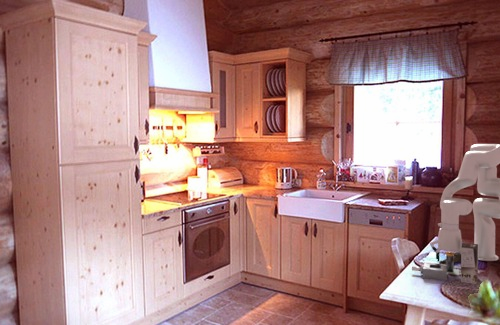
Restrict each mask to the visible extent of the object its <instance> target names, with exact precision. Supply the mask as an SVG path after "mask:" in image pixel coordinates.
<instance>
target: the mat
mask: <svg viewBox="0 0 500 325" xmlns="http://www.w3.org/2000/svg"><path fill="white" fill-rule="evenodd" d="M447 275H458V276H459V275H460V269H456V268H454V272H447Z"/></svg>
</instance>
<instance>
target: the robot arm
mask: <svg viewBox="0 0 500 325" xmlns="http://www.w3.org/2000/svg"><path fill="white" fill-rule="evenodd" d="M499 164H500V143H476V144H473V145H471V146H470V147H469V151H467V152H466V153H465V154H464V156H463V158H462V162H461V166H460V169H459V172H458V176H457V177H456V178H455V179H454V180H452V181H451V182H450V183H449V184H448V185H447V186H445V188H444V190H443V191H442V195H441V198H440V202H439V207H440V211H441V214H440V215H441V217H440V218H441V219H440V220H441V222H440V223H437V226H438V227H440V228H439V230H438V236H437V240H436V239H435V240H433V241H432V242H429V245H430V247H431V249H432V251H434V252H435V259H436V260H437V262H440V253H441V252H440V251H443V252H444V251H446V252H453V253H456V252H459V253H460V260H459V264H460V265H461V246H462V244H463V243H464V242H463V241H462V230H461V229H460V228H459V225H460V219H459V218H460V216H467V215H469V214H470V213H471V212H472V211H473V217H474V229H473V230H474V235H473V236H474V239H473V240H474V241H473V242H474V243H473V244H478V261H482V262H483V261H484V262H494V261H495V262H496V261H498V260H499V256H498V255H496V224H495V221H494V220H493V219H500V177H498V176H497V174H498V167H497V166H498V165H499ZM475 184H477V185H476V186H477V187H476V190H477V193H478V194H480V195H482V196H485V197H479V198H475V199H474V201H473V203H472V202H471V201H470V200H468V199H465V198H457V197H454V196H453V195H454V194H455V193H456V192H458V191H460V190H463V189H464V188H467V187H470V186H471V187H472V186H474V185H475ZM486 196H487V197H496V198H498V199H496V198H487V197H486ZM435 245H437V247H436V246H435Z"/></svg>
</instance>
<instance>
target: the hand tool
mask: <svg viewBox="0 0 500 325" xmlns="http://www.w3.org/2000/svg"><path fill="white" fill-rule="evenodd" d="M453 253H454V264H455V263H459V262H460V253H459V252H453ZM438 264H446V258H445V259H442V260H439V263H438Z"/></svg>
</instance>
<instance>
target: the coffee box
mask: <svg viewBox="0 0 500 325" xmlns="http://www.w3.org/2000/svg"><path fill="white" fill-rule="evenodd" d="M478 275H479V260H478V244H474V243H471V242H470V243H469V242H463V244H462V246H461V264H460V282H461V283H466V284H467V283H468V284H472V285H477V283H478V277H479V276H478Z"/></svg>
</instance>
